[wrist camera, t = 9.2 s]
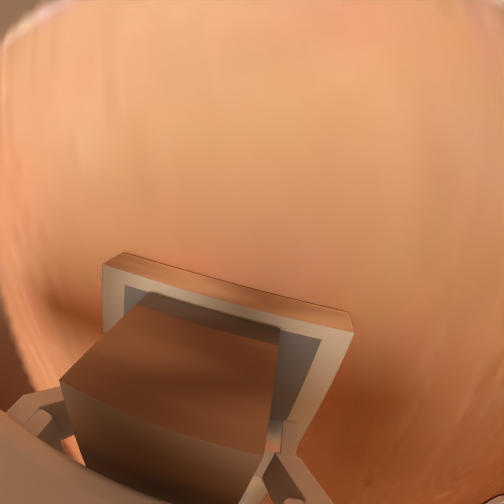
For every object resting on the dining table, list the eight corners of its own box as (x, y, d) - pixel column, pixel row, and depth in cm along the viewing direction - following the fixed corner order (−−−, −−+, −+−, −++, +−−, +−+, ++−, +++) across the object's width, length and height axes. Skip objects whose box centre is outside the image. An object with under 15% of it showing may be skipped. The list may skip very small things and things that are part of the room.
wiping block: (280, 328, 10) (264, 455, 5) (238, 449, 12) (216, 541, 7) (149, 292, 10) (58, 379, 5) (145, 420, 12) (100, 500, 7)
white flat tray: (348, 312, 11) (354, 333, 9) (242, 517, 17) (239, 531, 15) (123, 252, 11) (102, 264, 10) (133, 484, 18) (127, 497, 16)
